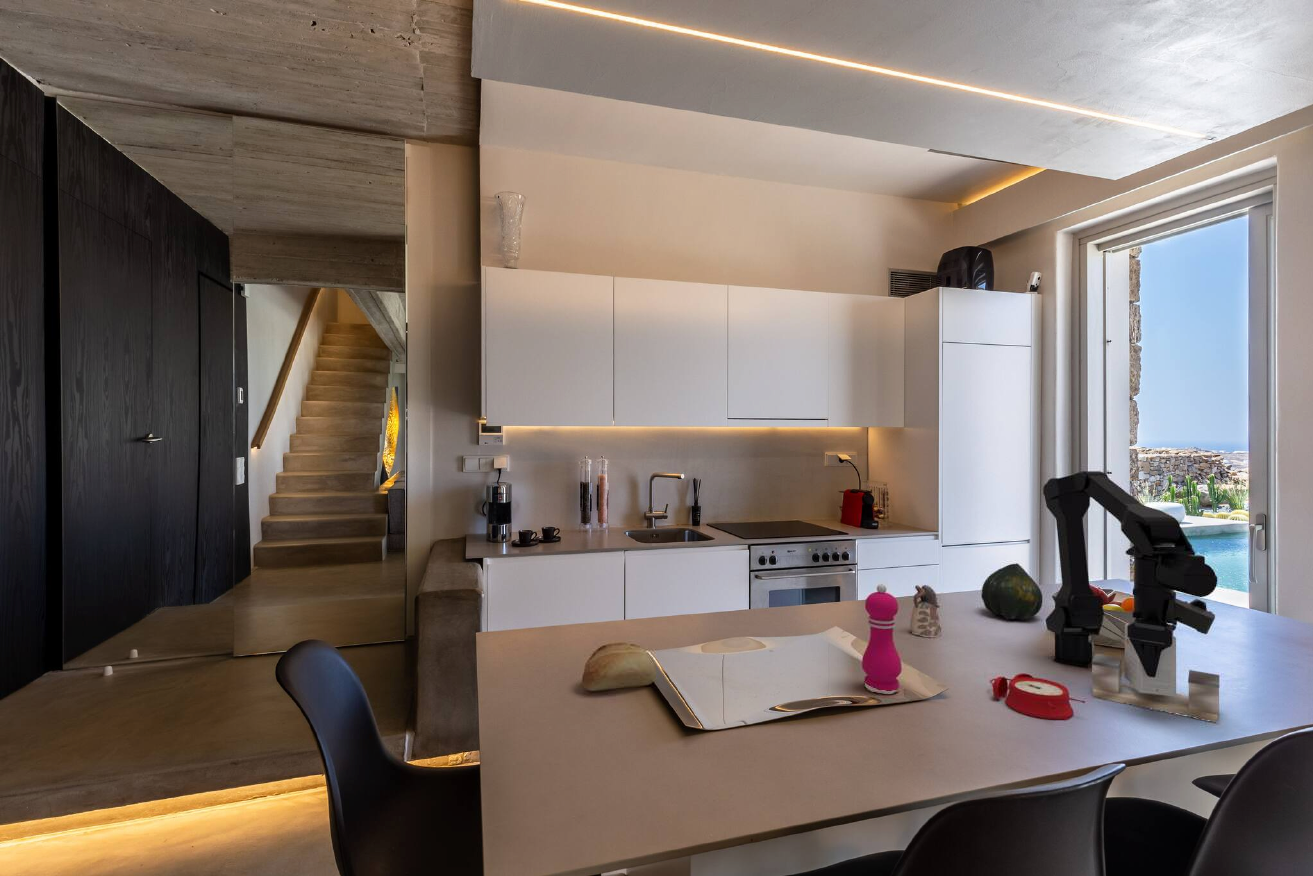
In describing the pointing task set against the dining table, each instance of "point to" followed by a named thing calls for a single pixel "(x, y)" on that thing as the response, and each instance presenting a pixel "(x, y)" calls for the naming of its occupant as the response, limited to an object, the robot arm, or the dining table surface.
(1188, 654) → the dining table surface
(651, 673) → the bread roll
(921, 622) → the figurine
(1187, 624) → the robot arm
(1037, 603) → the squash
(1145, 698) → the grey metal u-shaped piece
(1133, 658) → the small box
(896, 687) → the pepper mill
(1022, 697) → the alarm clock
